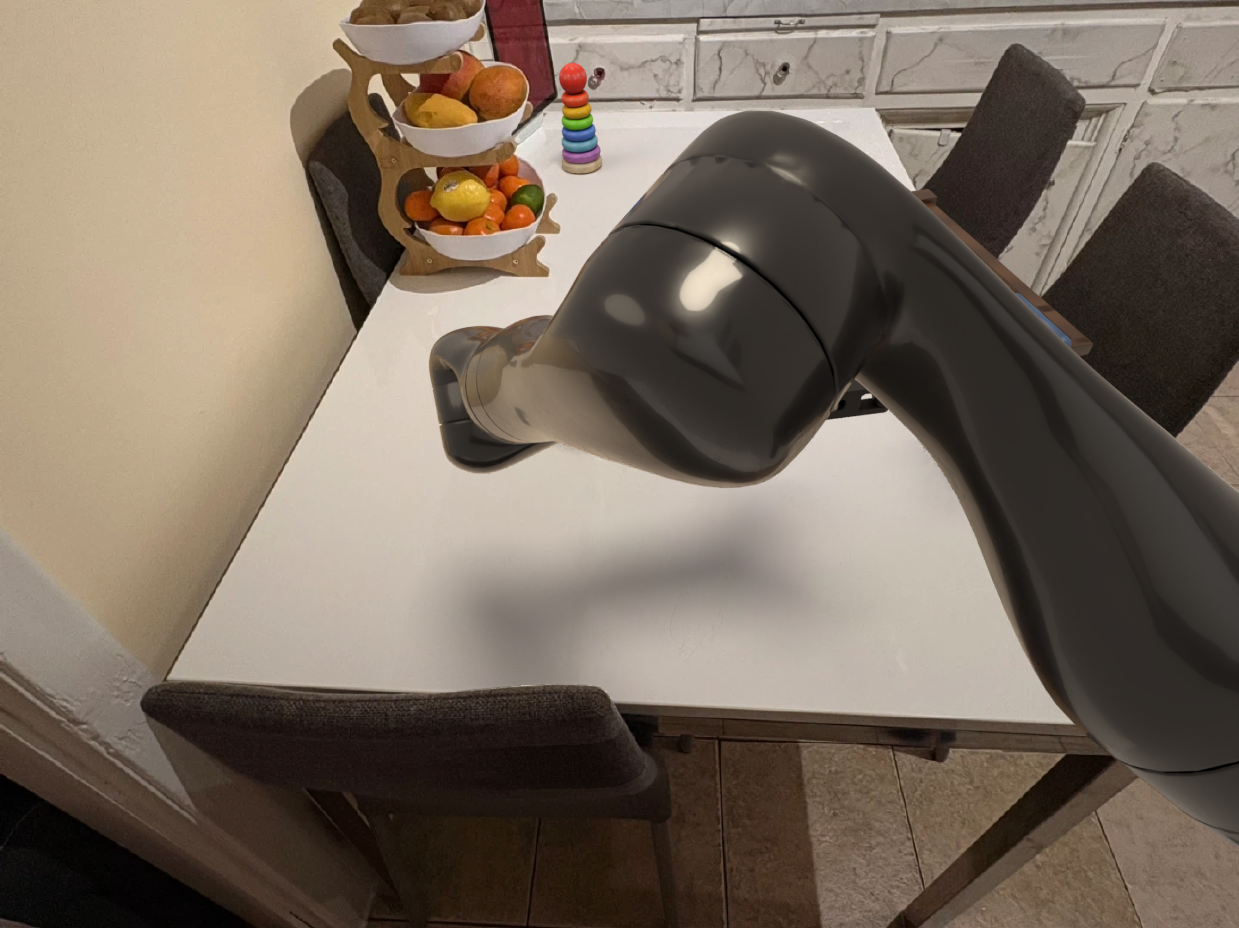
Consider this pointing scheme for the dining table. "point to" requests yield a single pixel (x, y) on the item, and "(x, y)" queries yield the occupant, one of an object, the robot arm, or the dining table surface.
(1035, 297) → the stand
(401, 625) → the dining table surface
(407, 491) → the dining table surface
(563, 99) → the stacking toy
